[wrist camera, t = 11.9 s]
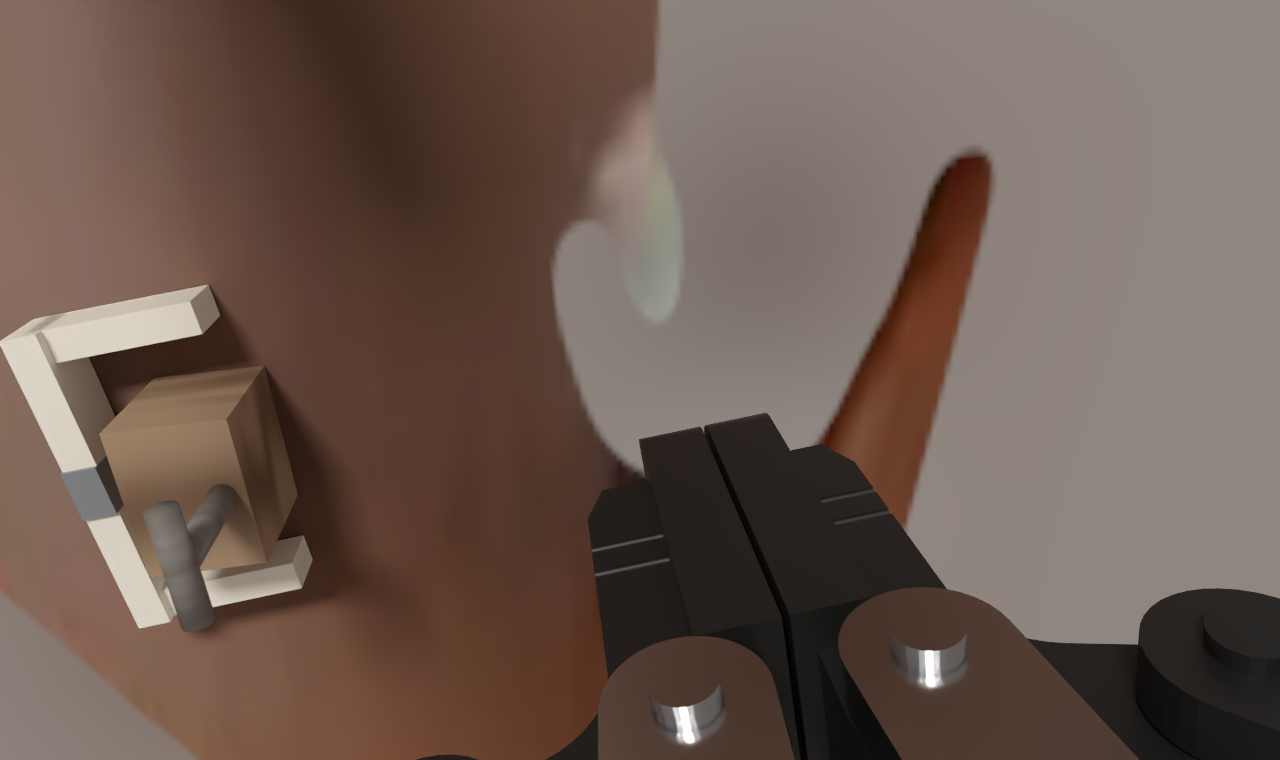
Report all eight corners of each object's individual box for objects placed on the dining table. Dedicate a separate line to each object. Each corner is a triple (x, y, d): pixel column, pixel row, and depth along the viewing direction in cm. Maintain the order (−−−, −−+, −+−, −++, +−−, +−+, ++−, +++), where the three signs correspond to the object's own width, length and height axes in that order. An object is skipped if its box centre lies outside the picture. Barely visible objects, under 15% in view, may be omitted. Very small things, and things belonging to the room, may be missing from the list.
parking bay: (34, 318, 40) (-5, 343, 37) (208, 284, 40) (184, 306, 38) (161, 591, 46) (137, 631, 43) (312, 559, 46) (298, 596, 44)
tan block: (154, 377, 42) (26, 507, 31) (264, 365, 42) (176, 489, 32) (195, 506, 45) (90, 668, 34) (298, 494, 45) (227, 649, 34)
